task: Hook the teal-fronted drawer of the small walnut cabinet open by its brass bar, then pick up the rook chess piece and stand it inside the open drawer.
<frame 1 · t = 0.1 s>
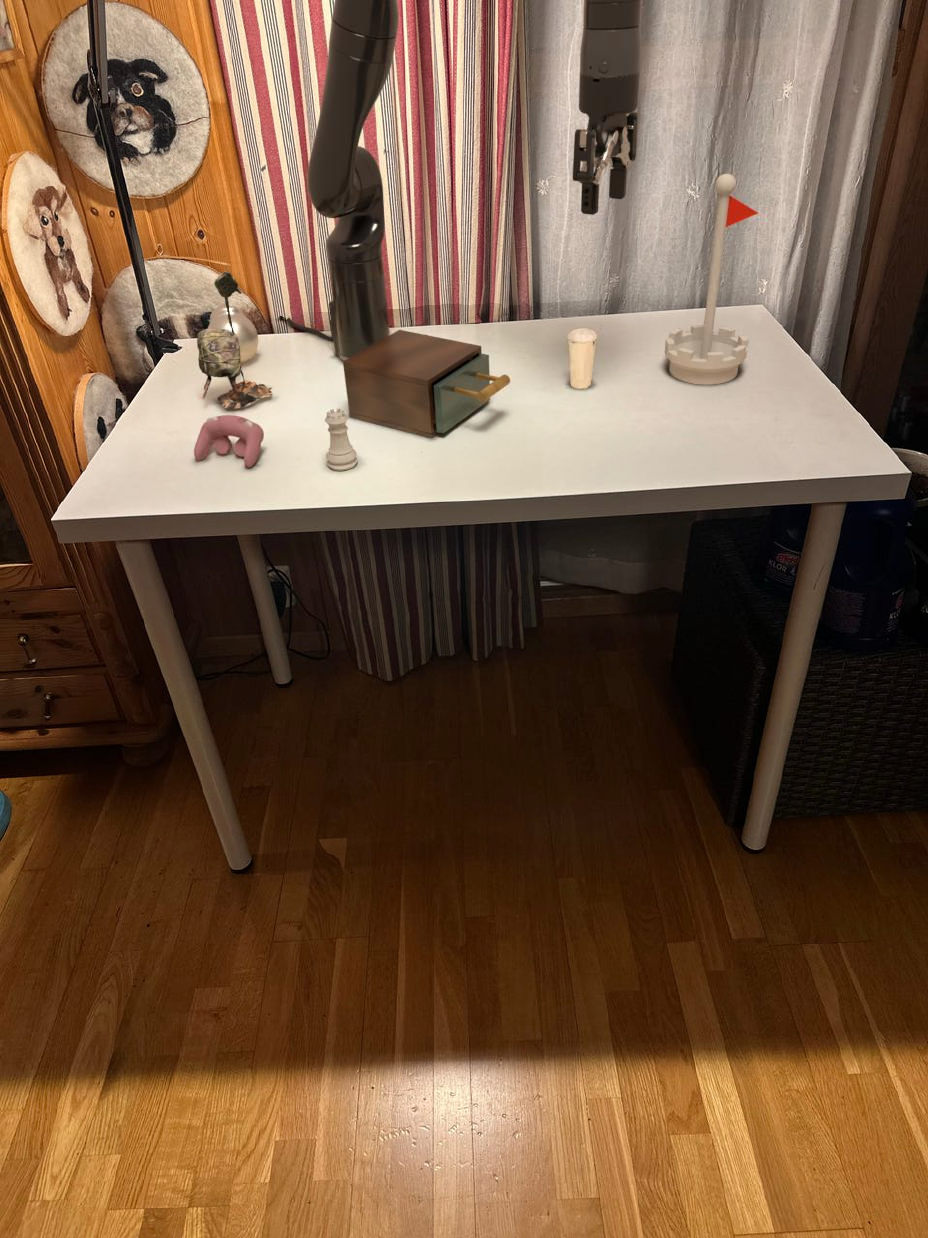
hand: (603, 205, 126), 29 cm above the table, tool pointing down, fingers open, 8 cm apart
cabinet: (417, 409, 146), on the table
rook chess piece: (342, 465, 132), on the table
drawer: (441, 387, 141), point 5 cm above the table, slide at 0.5 cm
milkshake: (582, 386, 150), on the table
video game controller: (232, 458, 136), on the table
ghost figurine: (237, 363, 164), on the table
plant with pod: (239, 401, 151), on the table
flag stand: (703, 371, 152), on the table
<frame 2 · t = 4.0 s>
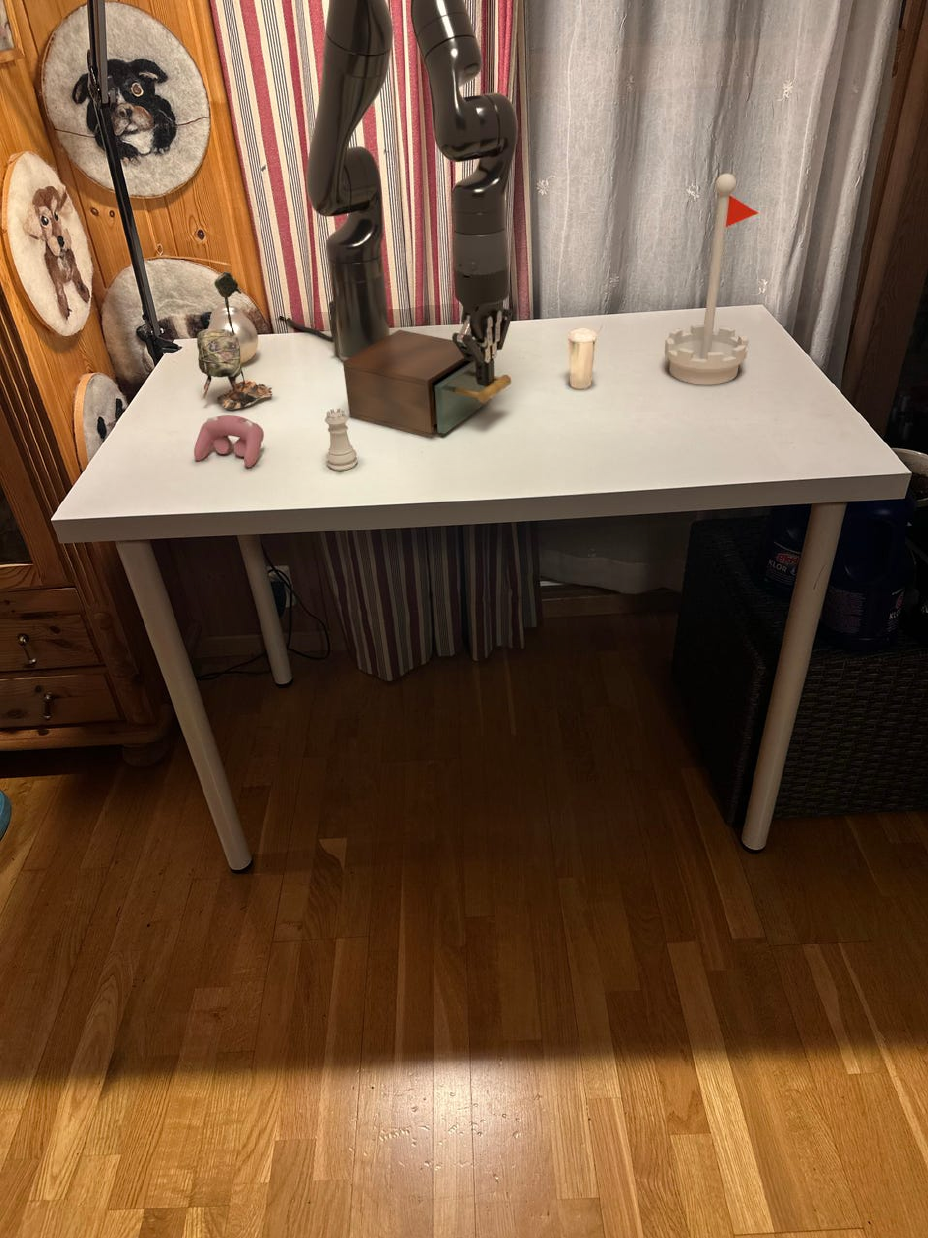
hand: (485, 383, 136), 7 cm above the table, tool pointing down, fingers closed
drawer: (442, 388, 140), point 5 cm above the table, slide at 0.7 cm, touching gripper
everything else where it was.
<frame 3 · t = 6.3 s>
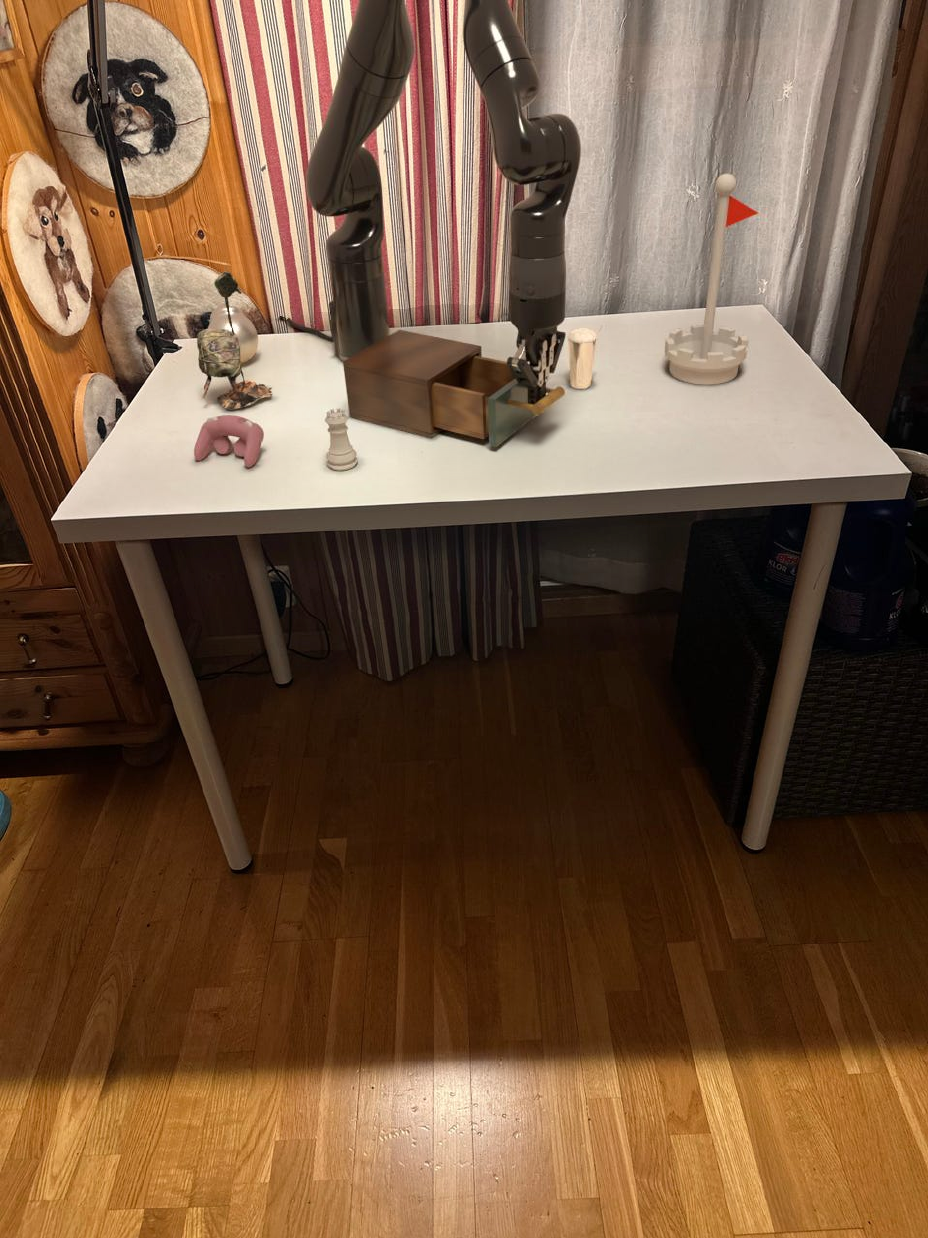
hand: (536, 407, 133), 5 cm above the table, tool pointing down, fingers closed
drawer: (493, 399, 136), point 5 cm above the table, slide at 9.7 cm
everything else where it was.
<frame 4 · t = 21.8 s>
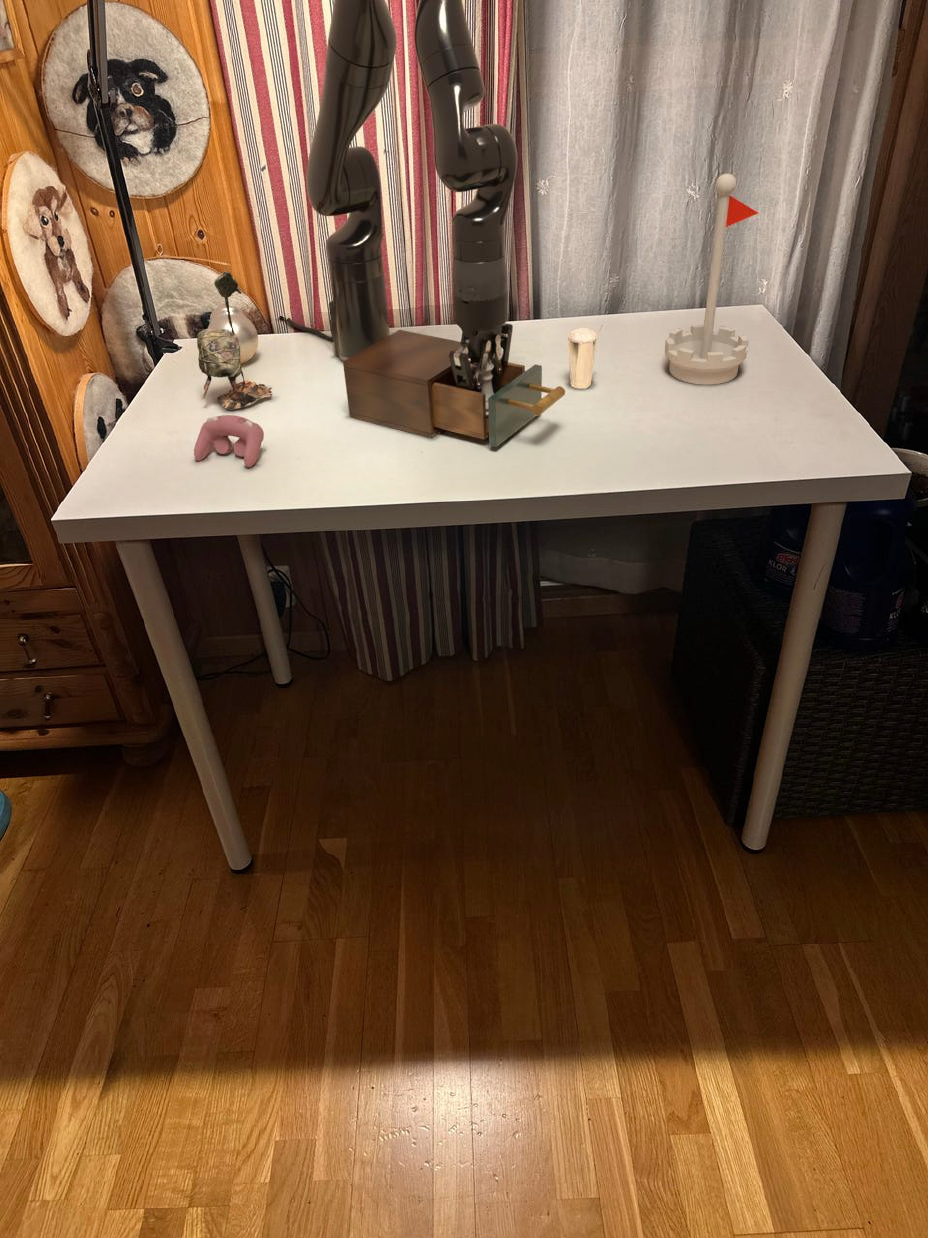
hand: (483, 403, 138), 4 cm above the table, tool pointing down, fingers closed on rook chess piece, 4 cm apart
rook chess piece: (484, 412, 139), point 2 cm above the table, touching gripper
everything else where it was.
when the fingers open (5 cm above the table, at t = 27.1 s): rook chess piece stays where it is, resting on drawer.
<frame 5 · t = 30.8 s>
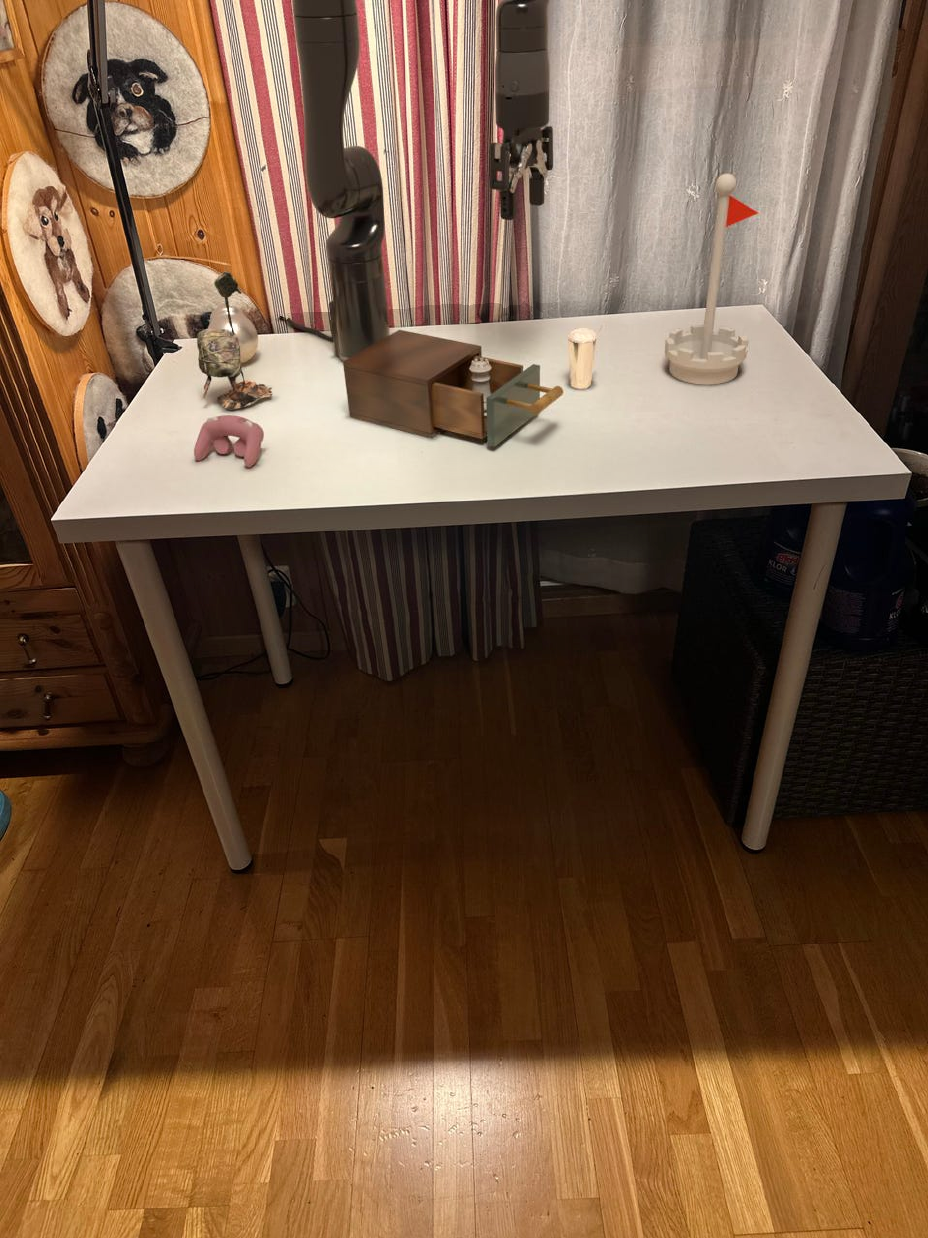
hand: (522, 211, 137), 26 cm above the table, tool pointing down, fingers open, 8 cm apart
rook chess piece: (482, 413, 139), point 2 cm above the table, touching drawer
drawer: (491, 399, 137), point 5 cm above the table, slide at 9.4 cm, touching rook chess piece
everything else where it was.
at the end: drawer slide at 9.4 cm; rook chess piece inside the target area in the drawer (0.1 cm from its centre), point 1.8 cm above the cabinet's base; rook chess piece touching drawer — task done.
